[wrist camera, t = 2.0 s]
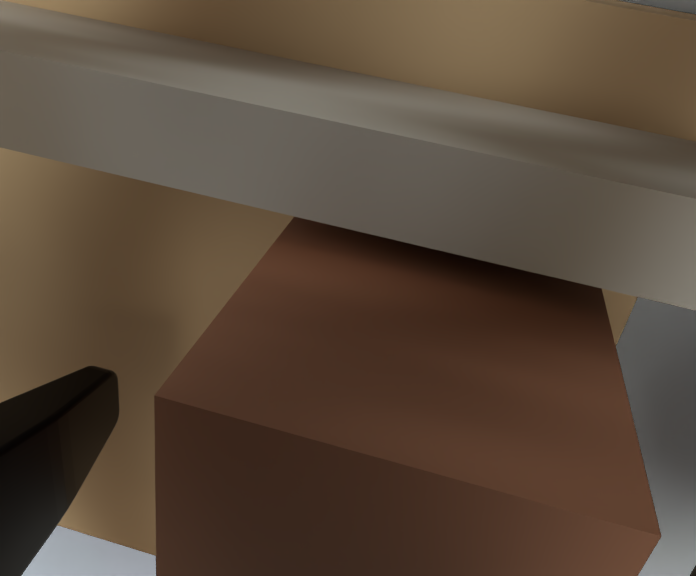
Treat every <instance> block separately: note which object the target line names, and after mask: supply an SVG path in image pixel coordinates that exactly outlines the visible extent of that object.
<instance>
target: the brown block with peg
mask: <svg viewBox="0 0 696 576" xmlns="http://www.w3.org/2000/svg"><path fill="white" fill-rule="evenodd" d="M154 420H155V509H156V576H638V574H639V573H640V571H641V569H642V568H643V566H644V564H645V563H646V561H647V559H648V558H649V556H650V554H651V553H652V551H653V549H654V548H655V546H656V544H657V543H658V541H659V539H660V538H661V533H660V529H659V525H658V520H657V516H656V512H655V508H654V504H653V500H652V496H651V491H650V487H649V483H648V479H647V475H646V471H645V466H644V462H643V458H642V454H641V450H640V446H639V442H638V437H637V433H636V429H635V425H634V421H633V417H632V412H631V408H630V404H629V400H628V396H627V392H626V388H625V383H624V379H623V375H622V371H621V367H620V363H619V359H618V354H617V350H616V346H615V342H614V338H613V334H612V329H611V325H610V321H609V317H608V313H607V309H606V305H605V300H604V296H603V292H602V288H597V287H593V286H589V285H585V284H580V283H576V282H572V281H567V280H563V279H559V278H555V277H550V276H546V275H542V274H538V273H533V272H529V271H525V270H521V269H516V268H512V267H508V266H504V265H499V264H495V263H491V262H486V261H482V260H478V259H474V258H469V257H465V256H461V255H457V254H452V253H448V252H444V251H440V250H435V249H431V248H427V247H423V246H418V245H414V244H410V243H405V242H401V241H397V240H393V239H388V238H384V237H380V236H376V235H371V234H367V233H363V232H359V231H354V230H350V229H346V228H342V227H337V226H333V225H329V224H324V223H320V222H316V221H312V220H307V219H303V218H299V217H295V216H294V217H293V219H292V220H291V221H290V223H289V224H288V225H287V226H286V228H285V229H284V230H283V232H282V233H281V234H280V235H279V237H278V238H277V239H276V240H275V242H274V243H273V244H272V246H271V247H270V248H269V249H268V251H267V252H266V253H265V255H264V256H263V257H262V258H261V260H260V261H259V262H258V263H257V265H256V266H255V267H254V269H253V270H252V271H251V272H250V274H249V275H248V276H247V278H246V279H245V280H244V281H243V283H242V284H241V285H240V286H239V288H238V289H237V290H236V292H235V293H234V294H233V295H232V297H231V298H230V299H229V301H228V302H227V303H226V304H225V306H224V307H223V308H222V309H221V311H220V312H219V313H218V315H217V316H216V317H215V318H214V320H213V321H212V322H211V324H210V325H209V326H208V327H207V329H206V330H205V331H204V332H203V334H202V335H201V336H200V338H199V339H198V340H197V341H196V343H195V344H194V345H193V347H192V348H191V349H190V350H189V352H188V353H187V354H186V355H185V357H184V358H183V359H182V361H181V362H180V363H179V364H178V366H177V367H176V368H175V370H174V371H173V372H172V373H171V375H170V376H169V377H168V378H167V380H166V381H165V382H164V384H163V385H162V386H161V387H160V389H159V390H158V391H157V393H156V394H155V395H154Z"/></svg>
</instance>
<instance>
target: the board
mask: <svg viewBox="0 0 696 576" xmlns="http://www.w3.org/2000/svg"><path fill="white" fill-rule="evenodd" d="M294 216H295V217H299V218H303V219H307V220H312V221H316V222H320V223H324V224H329V225H333V226H337V227H342V228H346V229H350V230H354V231H359V232H363V233H367V234H371V235H376V236H380V237H384V238H388V239H393V240H397V241H401V242H405V243H410V244H414V245H418V246H423V247H427V248H431V249H435V250H440V251H444V252H448V253H452V254H457V255H461V256H465V257H469V258H474V259H478V260H482V261H486V262H491V263H495V264H499V265H504V266H508V267H512V268H516V269H521V270H525V271H529V272H533V273H538V274H542V275H546V276H550V277H555V278H559V279H563V280H567V281H572V282H576V283H580V284H585V285H589V286H593V287H597V288H602V292H603V296H604V300H605V305H606V309H607V313H608V317H609V321H610V325H611V329H612V334H613V338H614V342H615V346H616V345H617V343H618V340H619V338H620V336H621V334H622V331H623V329H624V327H625V325H626V322H627V320H628V318H629V316H630V313H631V311H632V309H633V307H634V304H635V302H636V300H637V298H638V297H640V298H644V299H648V300H653V301H657V302H661V303H666V304H670V305H674V306H678V307H683V308H687V309H691V310H695V311H696V14H690V13H684V12H679V11H673V10H668V9H662V8H657V7H651V6H646V5H640V4H635V3H629V2H623V1H618V0H0V403H1V402H3V401H5V400H8V399H10V398H13V397H15V396H17V395H20V394H22V393H25V392H27V391H29V390H32V389H34V388H36V387H39V386H41V385H44V384H46V383H48V382H51V381H53V380H56V379H58V378H60V377H63V376H65V375H68V374H70V373H72V372H75V371H77V370H80V369H82V368H84V367H87V366H97V367H101V368H105V369H108V370H112V371H114V372H115V373H116V375H117V377H118V388H119V408H120V410H119V417H118V421H117V423H116V426H115V428H114V429H113V431H112V433H111V435H110V437H109V438H108V440H107V442H106V444H105V445H104V447H103V449H102V451H101V453H100V454H99V456H98V458H97V460H96V461H95V463H94V465H93V467H92V469H91V470H90V472H89V474H88V476H87V477H86V479H85V481H84V483H83V485H82V486H81V488H80V490H79V492H78V493H77V495H76V497H75V499H74V500H73V502H72V504H71V505H70V507H69V509H68V510H67V512H66V513H65V515H64V516H63V517H62V519H61V520H60V522H59V523H58V525H59V526H62V527H65V528H68V529H71V530H75V531H78V532H81V533H84V534H88V535H91V536H94V537H97V538H100V539H104V540H107V541H110V542H113V543H117V544H120V545H123V546H126V547H129V548H133V549H136V550H139V551H142V552H146V553H149V554H152V555H155V556H156V509H155V420H154V395H155V394H156V393H157V391H158V390H159V389H160V387H161V386H162V385H163V384H164V382H165V381H166V380H167V378H168V377H169V376H170V375H171V373H172V372H173V371H174V370H175V368H176V367H177V366H178V364H179V363H180V362H181V361H182V359H183V358H184V357H185V355H186V354H187V353H188V352H189V350H190V349H191V348H192V347H193V345H194V344H195V343H196V341H197V340H198V339H199V338H200V336H201V335H202V334H203V332H204V331H205V330H206V329H207V327H208V326H209V325H210V324H211V322H212V321H213V320H214V318H215V317H216V316H217V315H218V313H219V312H220V311H221V309H222V308H223V307H224V306H225V304H226V303H227V302H228V301H229V299H230V298H231V297H232V295H233V294H234V293H235V292H236V290H237V289H238V288H239V286H240V285H241V284H242V283H243V281H244V280H245V279H246V278H247V276H248V275H249V274H250V272H251V271H252V270H253V269H254V267H255V266H256V265H257V263H258V262H259V261H260V260H261V258H262V257H263V256H264V255H265V253H266V252H267V251H268V249H269V248H270V247H271V246H272V244H273V243H274V242H275V240H276V239H277V238H278V237H279V235H280V234H281V233H282V232H283V230H284V229H285V228H286V226H287V225H288V224H289V223H290V221H291V220H292V219H293V217H294Z"/></svg>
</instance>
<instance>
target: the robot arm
mask: <svg viewBox="0 0 696 576" xmlns="http://www.w3.org/2000/svg"><path fill="white" fill-rule="evenodd" d="M119 410H120V408H119V388H118V377H117V375H116V373H115V372H114V371H112V370H108V369H105V368H101V367H97V366H87V367H84V368H82V369H80V370H77V371H75V372H72V373H70V374H68V375H65V376H63V377H60V378H58V379H56V380H53V381H51V382H48V383H46V384H44V385H41V386H39V387H36V388H34V389H32V390H29V391H27V392H25V393H22V394H20V395H17V396H15V397H13V398H10V399H8V400H5V401H3V402H1V403H0V576H21V575H22V574H23V572H24V571H25V570H26V568H27V567H28V565H29V564H30V563H31V561H32V560H33V558H34V557H35V556H36V554H37V553H38V551H39V550H40V549H41V547H42V546H43V544H44V543H45V542H46V540H47V539H48V537H49V536H50V535H51V533H52V532H53V530H54V529H55V528H56V526H57V525H58V523H59V522H60V520H61V519H62V517H63V516H64V515H65V513H66V512H67V510H68V509H69V507H70V505H71V504H72V502H73V500H74V499H75V497H76V495H77V493H78V492H79V490H80V488H81V486H82V485H83V483H84V481H85V479H86V477H87V476H88V474H89V472H90V470H91V469H92V467H93V465H94V463H95V461H96V460H97V458H98V456H99V454H100V453H101V451H102V449H103V447H104V445H105V444H106V442H107V440H108V438H109V437H110V435H111V433H112V431H113V429H114V428H115V426H116V423H117V421H118V417H119ZM690 576H696V566H695V567H694V569H693V570H692V572H691V574H690Z"/></svg>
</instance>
